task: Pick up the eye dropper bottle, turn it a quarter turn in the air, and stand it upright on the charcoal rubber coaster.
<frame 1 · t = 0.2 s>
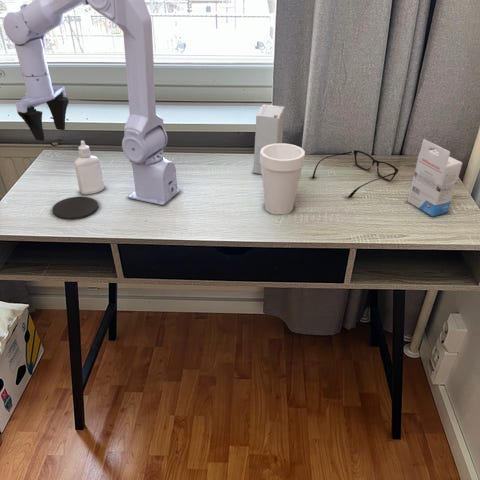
hand: (50, 134, 120), 10 cm above the table, tool pointing down, fingers open, 7 cm apart
coaster: (75, 208, 113), on the table
ink box: (427, 207, 114), on the table
eyeglasses: (352, 181, 125), on the table
foam cup: (279, 208, 114), on the table
eye dropper bottle: (92, 191, 120), on the table
cosmetic box: (267, 169, 130), on the table
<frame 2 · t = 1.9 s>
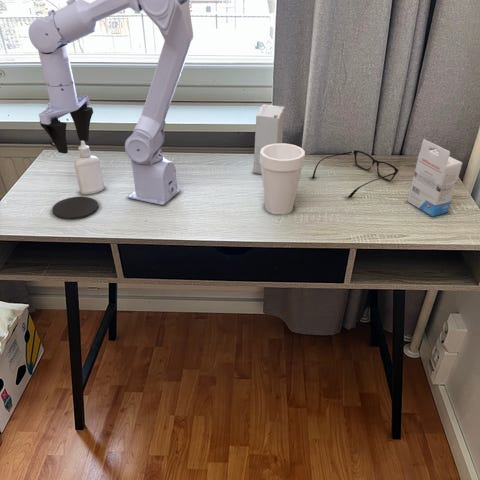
hand: (73, 146, 114), 10 cm above the table, tool pointing down, fingers open, 7 cm apart
nothing on the table moved.
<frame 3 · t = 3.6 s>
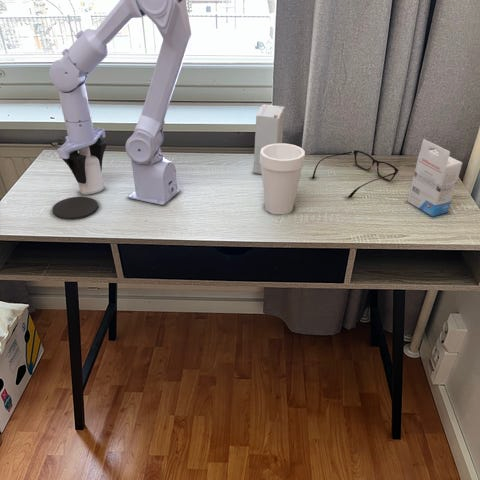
hand: (89, 177, 118), 3 cm above the table, tool pointing down, fingers closed on eye dropper bottle, 5 cm apart
eye dropper bottle: (92, 191, 120), on the table, touching gripper
everything else where it was.
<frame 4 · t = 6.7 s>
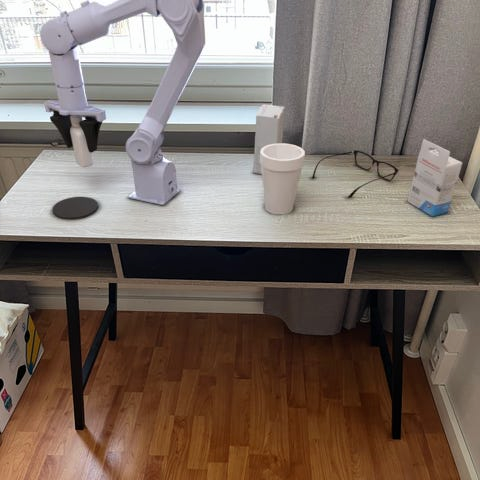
hand: (81, 148, 113), 10 cm above the table, tool pointing down, fingers closed on eye dropper bottle, 5 cm apart
eye dropper bottle: (84, 163, 115), point 7 cm above the table, touching gripper
everything else where it was.
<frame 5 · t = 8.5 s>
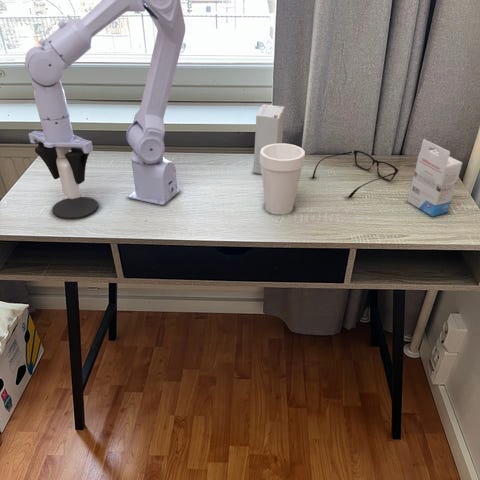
hand: (69, 179, 108), 7 cm above the table, tool pointing down, fingers closed on eye dropper bottle, 5 cm apart
eye dropper bottle: (72, 195, 111), point 3 cm above the table, touching gripper
everything else where it was.
when the fingers open (4 cm above the table, at t = 10.0 s): eye dropper bottle stays where it is, resting on coaster.
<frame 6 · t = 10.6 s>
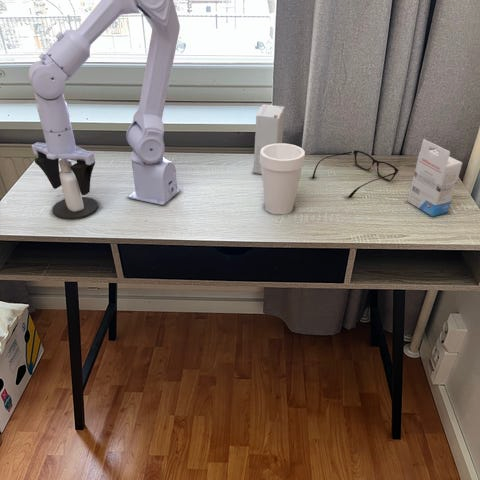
hand: (71, 190, 110), 5 cm above the table, tool pointing down, fingers open, 7 cm apart
eye dropper bottle: (75, 207, 113), resting on coaster
everything else where it was.
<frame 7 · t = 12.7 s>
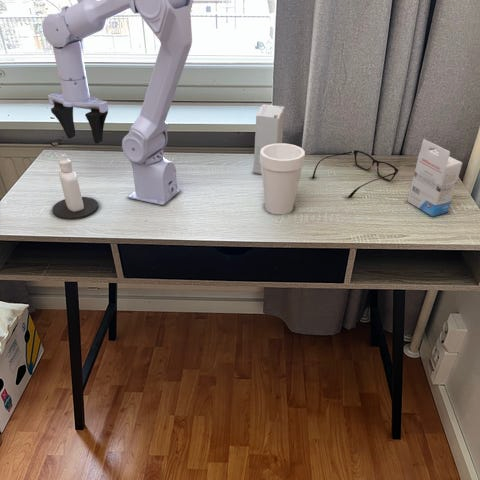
hand: (85, 139, 117), 10 cm above the table, tool pointing down, fingers open, 7 cm apart
nothing on the table moved.
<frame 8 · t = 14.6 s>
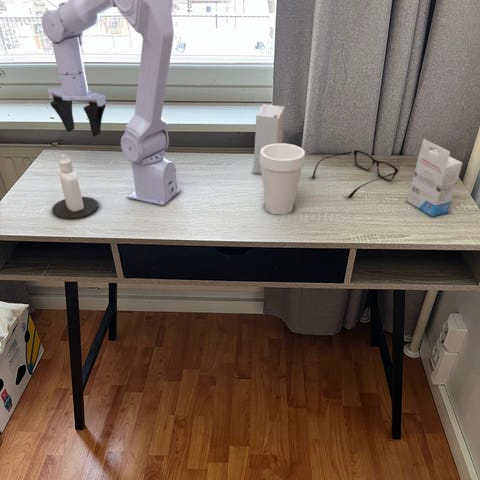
hand: (83, 132, 120), 10 cm above the table, tool pointing down, fingers open, 7 cm apart
nothing on the table moved.
at the end: eye dropper bottle 0.0 cm off-centre on the coaster, point 0.3 cm above the coaster's base; eye dropper bottle tilted 0°; the gripper is holding nothing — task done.
